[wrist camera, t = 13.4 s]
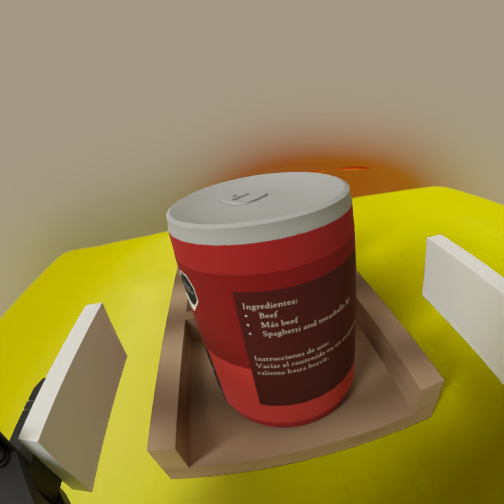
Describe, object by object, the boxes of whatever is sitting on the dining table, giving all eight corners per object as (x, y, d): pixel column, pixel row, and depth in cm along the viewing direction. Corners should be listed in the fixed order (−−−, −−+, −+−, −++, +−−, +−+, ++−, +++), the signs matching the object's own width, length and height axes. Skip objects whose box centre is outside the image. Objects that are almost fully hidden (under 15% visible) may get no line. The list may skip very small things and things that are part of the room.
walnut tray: (187, 283, 33) (179, 256, 32) (321, 255, 34) (318, 227, 33) (171, 478, 13) (147, 450, 12) (431, 416, 14) (444, 380, 12)
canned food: (259, 328, 23) (228, 174, 18) (369, 348, 18) (368, 169, 14) (195, 403, 17) (125, 225, 12) (326, 450, 13) (314, 232, 8)
